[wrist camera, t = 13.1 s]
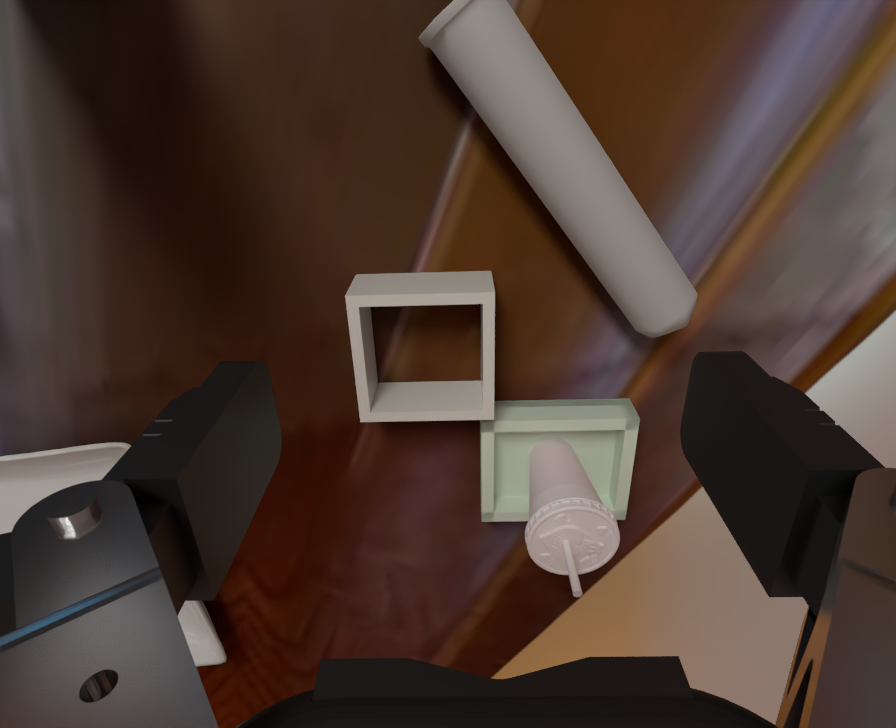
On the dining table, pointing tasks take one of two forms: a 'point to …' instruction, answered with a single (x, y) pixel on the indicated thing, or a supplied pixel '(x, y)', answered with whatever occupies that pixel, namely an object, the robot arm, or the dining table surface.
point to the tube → (561, 160)
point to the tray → (575, 421)
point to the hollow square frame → (420, 396)
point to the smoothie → (566, 515)
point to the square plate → (43, 473)
